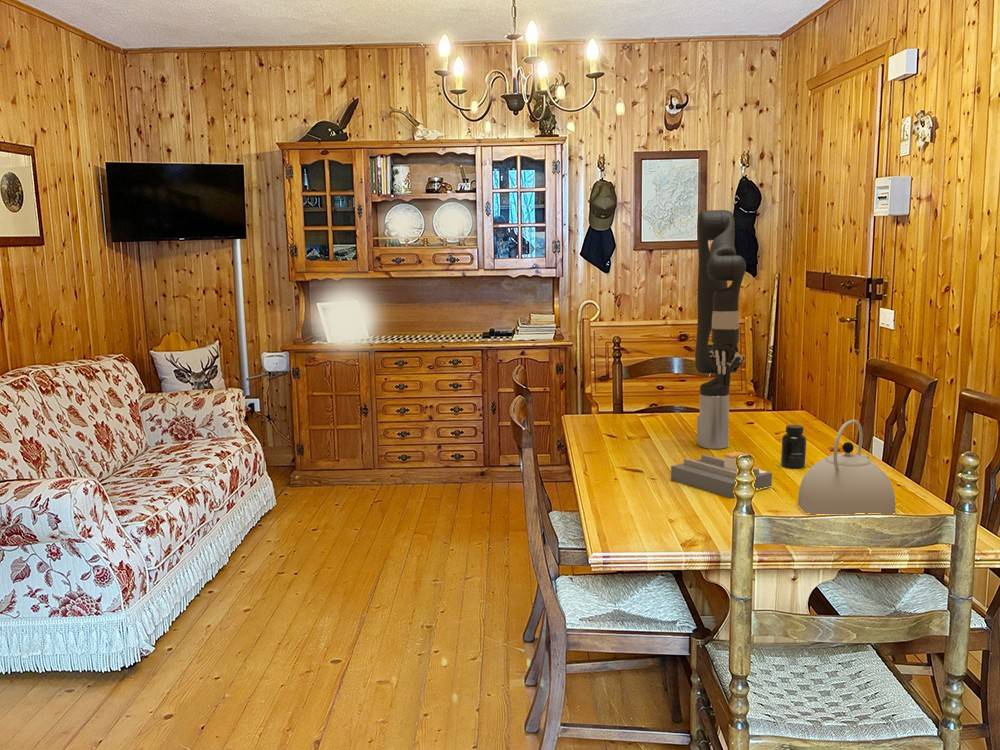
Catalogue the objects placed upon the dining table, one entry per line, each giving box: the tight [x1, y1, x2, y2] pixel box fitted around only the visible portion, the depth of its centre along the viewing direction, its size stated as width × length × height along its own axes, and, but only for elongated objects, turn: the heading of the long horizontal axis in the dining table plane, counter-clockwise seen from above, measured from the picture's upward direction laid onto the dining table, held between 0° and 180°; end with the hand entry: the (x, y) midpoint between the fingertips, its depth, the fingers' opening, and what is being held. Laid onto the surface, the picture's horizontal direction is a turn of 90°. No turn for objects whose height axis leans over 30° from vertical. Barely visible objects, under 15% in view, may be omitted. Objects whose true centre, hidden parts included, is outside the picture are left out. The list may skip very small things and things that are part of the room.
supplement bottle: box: [780, 424, 807, 469], centre depth 254 cm, size 7×7×12 cm
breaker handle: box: [723, 451, 746, 472], centre depth 235 cm, size 3×5×5 cm, turn 124°
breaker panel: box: [670, 453, 773, 499], centre depth 239 cm, size 22×16×6 cm
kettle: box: [797, 419, 896, 516], centre depth 215 cm, size 25×23×23 cm
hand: (724, 386), depth 248 cm, fingers closed
